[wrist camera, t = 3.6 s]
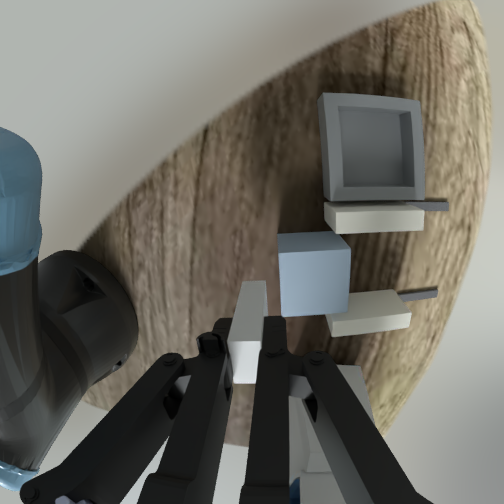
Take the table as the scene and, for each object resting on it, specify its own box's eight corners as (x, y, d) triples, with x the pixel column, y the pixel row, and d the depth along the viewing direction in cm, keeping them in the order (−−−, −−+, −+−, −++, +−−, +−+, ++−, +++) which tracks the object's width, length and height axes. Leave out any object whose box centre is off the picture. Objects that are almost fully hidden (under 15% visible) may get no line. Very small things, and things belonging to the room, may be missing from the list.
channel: (323, 309, 25) (331, 337, 21) (323, 202, 22) (335, 212, 18) (391, 302, 25) (408, 327, 21) (399, 200, 22) (424, 210, 17)
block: (280, 287, 25) (281, 316, 20) (277, 233, 24) (278, 253, 19) (334, 284, 25) (347, 312, 20) (335, 230, 23) (351, 249, 18)
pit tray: (323, 196, 22) (330, 201, 20) (316, 100, 20) (323, 92, 17) (409, 194, 21) (424, 199, 19) (404, 105, 19) (419, 100, 16)
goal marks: (395, 301, 25) (396, 302, 24) (404, 201, 22) (405, 202, 21) (435, 295, 24) (436, 297, 24) (447, 202, 21) (448, 202, 21)
